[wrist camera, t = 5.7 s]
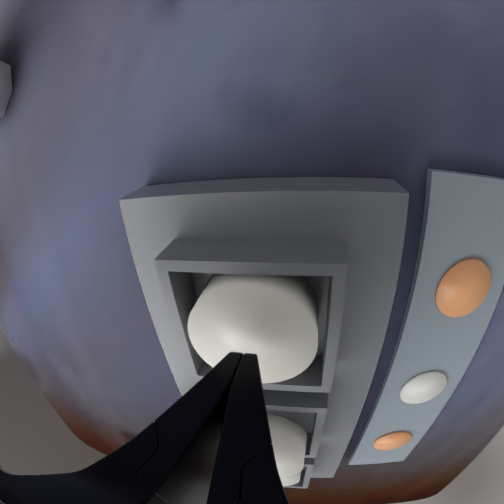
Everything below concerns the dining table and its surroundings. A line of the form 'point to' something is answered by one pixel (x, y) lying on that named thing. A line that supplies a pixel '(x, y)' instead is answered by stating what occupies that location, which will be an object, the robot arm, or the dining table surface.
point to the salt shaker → (5, 86)
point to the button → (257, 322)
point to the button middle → (287, 444)
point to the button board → (280, 263)
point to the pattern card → (440, 311)
